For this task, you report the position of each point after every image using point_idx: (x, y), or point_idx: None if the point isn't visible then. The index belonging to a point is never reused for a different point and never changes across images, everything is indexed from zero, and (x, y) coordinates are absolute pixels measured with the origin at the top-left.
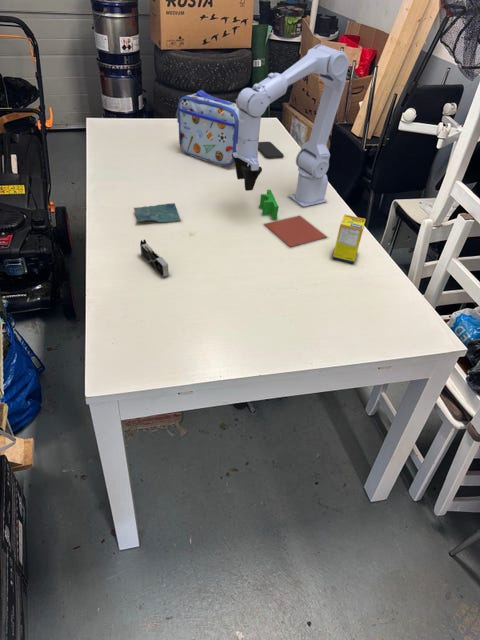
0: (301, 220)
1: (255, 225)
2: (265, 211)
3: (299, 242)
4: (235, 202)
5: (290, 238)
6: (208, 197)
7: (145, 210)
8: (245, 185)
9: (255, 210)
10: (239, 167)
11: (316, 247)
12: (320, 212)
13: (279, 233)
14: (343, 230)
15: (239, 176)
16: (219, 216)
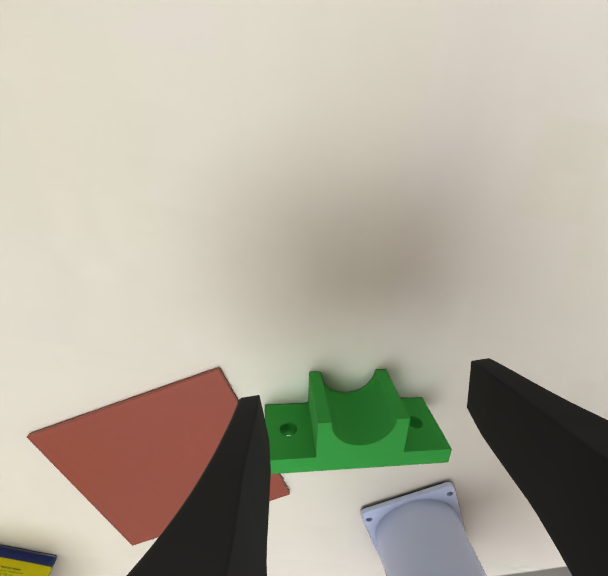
0: None
1: (213, 328)
2: (311, 393)
3: (69, 469)
4: (455, 268)
5: (96, 445)
6: (554, 118)
7: None
8: (226, 432)
9: (358, 348)
10: (556, 456)
11: (53, 509)
12: (316, 546)
13: (135, 414)
14: None
15: (483, 388)
16: (313, 153)
